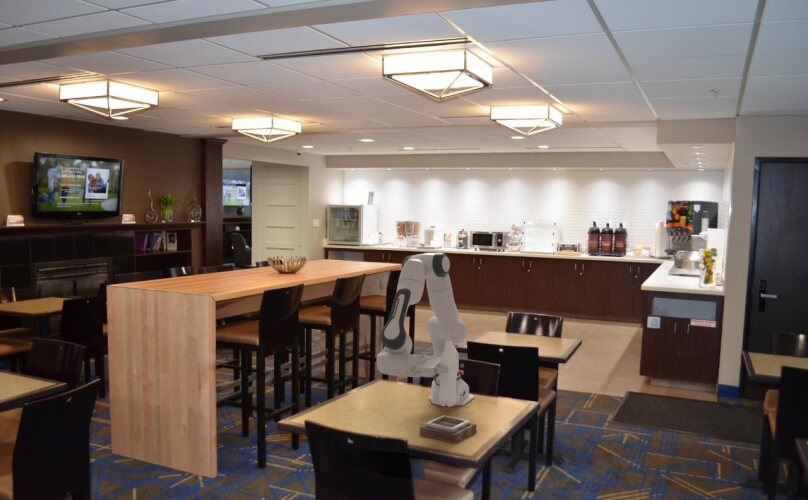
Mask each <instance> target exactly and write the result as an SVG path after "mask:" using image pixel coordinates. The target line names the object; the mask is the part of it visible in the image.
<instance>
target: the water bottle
mask: <svg viewBox="0 0 808 500" xmlns="http://www.w3.org/2000/svg"><path fill="white" fill-rule="evenodd" d="M444 348H445V349H444V352H443V354H442V356H441V358H440V360H439V368H448V373H440V374H439V380H440V389H439V394H438V399H439V402H440V404H441V405H440V406H442V407H446V406H445V405H446V403H447V405H448V406H447V407H448V408H450V407H451V408H452V407H454V406H453V405H455V403H456V400H457V393H456V380H457V364H458V363H457V359H456V356H455V354H454V352H453V341H445V346H444ZM455 406H456V405H455Z"/></svg>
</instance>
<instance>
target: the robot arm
mask: <svg viewBox="0 0 808 500" xmlns="http://www.w3.org/2000/svg"><path fill="white" fill-rule="evenodd" d="M450 269H451V262H450V258H449V257H448V255H447V254H446V253H444V252H424V253H418V254H410V255H407V256H406V257H405V258H404V259H403V260H402V263H401V271H400V275H399V278H398V281H397V282H398V283H397V288H396V291H395V292H396V293H395V296H394V298H393V301H392V302H393V303H392V306H391V308H390V313H389V316H388V320H387V322H386V323H385V325H384V326H383V328H382V329H381V331H380V341H381V343H382V344H383V346H384V347H383V348H382V350H381V351H380V352H379V353H378V354H376V359H375V360H376V361H375V363H376V367H377V369H378V371H379V372H380V373H381V374H384V375H388V376H399V377H400V376H405V377H410V378H420V377H423V378H433V381H432V382H431V387H430V389H431V390H430V395H429V396H428V399H429V401H430V403H431V404H433V405H436V406H441V404H440V402H439V399H438V394H439V389H440V380H439V374H440V373H448V368H439V360H440V358H441V356H442V354H443V352H444V349H445V348H444V346H445V341H453V352H454V354H455V356H456V359H457V363H458V364H457V380H456V393H457V400H456V403H455V405H453V406H452V407H454V406H455V407H456V406H465V405H467V404H468V403H469V402H470V401H472V400H473V399H474V398H475V395H474V394H472V393H470V387H469V385H468V384H467V383H466V382H465V381H464V380H463V379H462V376H463V375H464V370H461V369H459V367H460V366H459V363H460V361H459V360H460V355H459V352H458V350H457V349H456V347H455V346H456V345H455V344H461V343H463V342H465V341H466V340H467V338H468V335H469V328H468V326H467V324H466V323H465V322H464V321H463V319H462V317H461V315H460V313H459V310H458V308H457V305H456V302H455V298H454V297H455V296H454V293H453V286H452V281H451V278H450V275H449V272H450ZM425 284H426V290H427V295H428V300H429V306H430V308H431V310H432V311H433V313H434V314H435V315H433V316H431V317H429V318H428V320H427V321H426V324H425V327H426V332H427V333H428V335H429V337H430V340H431V341H430V342H431V344H432V345H431V346H432V349H433V355H427V354H425V353H420V354H416V353H413V354H412V349H413V345H414V344H413V341H412V338H411V336H410V335H409V334H408V333H407V331H406V328H405V321H406V318H407V313H408V310H409V307H410V306H412V305H415V304H418V303H419V302H420V300H422V296H423V293H424V289H425ZM444 407H448V405H447V403H446V405H445V406H444Z"/></svg>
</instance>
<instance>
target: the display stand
mask: <svg viewBox="0 0 808 500" xmlns="http://www.w3.org/2000/svg"><path fill="white" fill-rule="evenodd" d="M475 433H477V423H473V422H471V420H468V419H465V418H464V419H463V418H458V417H453V416H449V415H445V414H444V415H441V416H438V417H437V418H434V419H432V420H429V421H428V422H425V424H423V425H421V426H419V435H420V436H423V435H424V437H427V436H428V437H427V438H431V439H436V440H441V441H444V440H445V442H448V441H450V442H449V443H452V442H453V443H452V444H456V443H457V441H458V442H459V440H460V441H462V440H463V439H465V438H467V437H469V436H471V435H473V434H475ZM461 439H462V440H461ZM455 442H456V443H455Z"/></svg>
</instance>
